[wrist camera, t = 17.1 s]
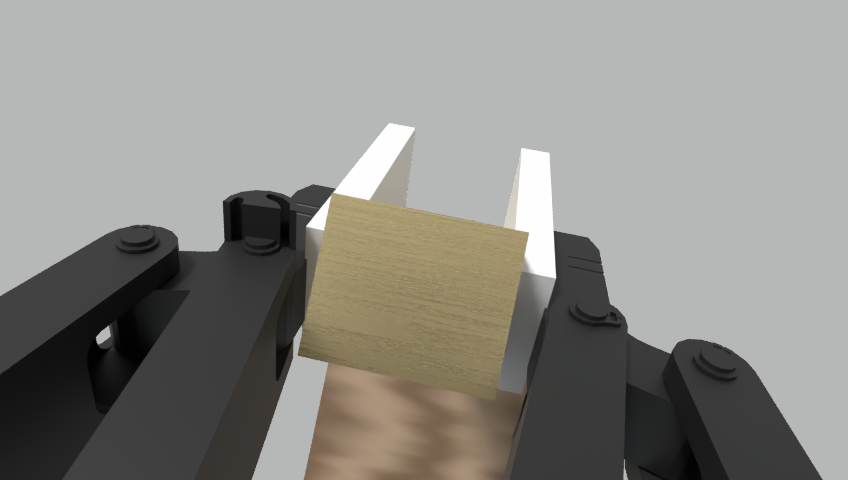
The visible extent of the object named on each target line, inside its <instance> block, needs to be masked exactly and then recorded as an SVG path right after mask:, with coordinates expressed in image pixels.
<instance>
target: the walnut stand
mask: <svg viewBox="0 0 848 480" xmlns="http://www.w3.org/2000/svg"><path fill="white" fill-rule="evenodd" d="M526 391H527V378H526V382H525V385H524V388H523V392H522V394H517V393H513V392H509V391H504V390H500V389H497V392H496V397H495V401H493V400H489V399H485V398H480V397H476V396H472V395H467V394H463V393H459V392H454V391H450V390H446V389H441V388H437V387H433V386H428V385H424V384H420V383H415V382H411V381H407V380H402V379H398V378H394V377H389V376H385V375H380V374H376V373H372V372H367V371H363V370H359V369H354V368H350V367H346V366H341V365H337V364H333V363H328V368H327V373H326V378H325V383H324V387H323V392H322V396H321V401H320V406H319V411H318V416H317V420H316V425H315V430H314V434H313V440H312V444H311V449H310V454H309V458H308V463H307V468H306V473H305V478H304V480H503V477H504V473H505V469H506V465H507V461H508V458H509V454H510V450H511V446H512V442H513V439H512V438H513V434H514V431H515V428H516V424H517V421H518V418H519V414H520V411H521V408H522V404H523V401H524V398H525V394H526Z"/></svg>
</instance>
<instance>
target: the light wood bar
mask: <svg viewBox="0 0 848 480" xmlns="http://www.w3.org/2000/svg"><path fill="white" fill-rule="evenodd" d="M528 237H529V232H524V231H519V230H515V229H510V228H505V227H500V226H495V225H490V224H484V223H479V222H475V221H470V220H465V219H460V218H455V217H450V216H445V215H440V214H435V213H430V212H425V211H420V210H415V209H411V208H406V207H401V206H396V205H391V204H386V203H381V202H376V201H371V200H366V199H361V198H356V197H351V196H346V195H342V194H337V193H332V194H331V199H330V204H329V209H328V213H327V218H326V223H325V228H324V232H323V237H322V242H321V247H320V251H319V256H318V261H317V266H316V270H315V275H314V280H313V285H312V289H311V294H310V299H309V303H308V308H307V313H306V318H305V322H304V327H303V332H302V337H301V342H300V347H299V351H298V356H302V357H307V358H311V359H315V360H320V361H324V362H328V363H333V364H337V365H341V366H346V367H350V368H354V369H359V370H363V371H367V372H372V373H376V374H380V375H385V376H389V377H394V378H398V379H402V380H407V381H411V382H415V383H420V384H424V385H428V386H433V387H437V388H441V389H446V390H450V391H454V392H459V393H463V394H467V395H472V396H476V397H480V398H485V399H489V400H493V401H495V397H496V392H497V387H498V382H499V378H500V373H501V368H502V363H503V358H504V353H505V348H506V344H507V339H508V334H509V329H510V324H511V319H512V314H513V309H514V305H515V300H516V295H517V290H518V285H519V280H520V275H521V271H522V266H523V261H524V256H525V251H526V246H527V241H528Z"/></svg>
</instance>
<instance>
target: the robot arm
mask: <svg viewBox="0 0 848 480" xmlns="http://www.w3.org/2000/svg"><path fill="white" fill-rule="evenodd" d="M414 136H415V128H412V127H407V126H402V125H396V124H391V123H389V124H388V125H387V127H386V128H385V129H384V130H383V132H382V133H381V134H380V135H379V137H378V138H377V139H376V140H375V141H374V143H373V144H372V145H371V147H370V148H369V149H368V150H367V151H366V153H365V154H364V155H363V156H362V158H361V159H360V160H359V161H358V163H357V164H356V165H355V167H354V168H353V169H352V170H351V171H350V172H349V174H348V175H347V176H346V178H345V179H344V180H343V181H342V182H341V184H340V185H339V186H338V187H337V189H334V188H329V187H324V186H319V185H311V186H309V187H306V188H304V189H301V190H299V191H297V192H296V193H295V194H294V195H293V196H292V197H291V198H290V197H288V196H286V195H284V194H281V193H276V192H272V191H259V190H254V191H246V192H240V193H237V194H234V195H231V196H229V197H228V198H227V199H225V200H224V201H223V215H224V238H225V241H224V243H223V244H222V246H221V247H220V249H219V250H218V251H212V252H196V251H179V247H178V238H177V236H175V234H174V233H173V232H172V231H169V230H167V229H165V228H162V227H156V226H151V225H142V226H140V225H134V226H130V227H126V228H122V229H117V230H115V231H113V232H110V233H108V234H106V235H104V236H102V237H101V238H99V239H97V240H96V241H94V242H92V243H91V244H89V245H87V246H85V247H84V248H82V249H80V250H78V251H77V252H75V253H73V254H72V255H70V256H68V257H67V258H65V259H63V260H61V261H60V262H58V263H56V264H54V265H53V266H51V267H50V268H48V269H46V270H44V271H42V272H41V273H39V274H37V275H36V276H34V277H32V278H31V279H29V280H27V281H25V282H24V283H22V284H20V285H19V286H17V287H15V288H13V289H12V290H10V291H8V292H7V293H5V294H3V295H2V296H0V480H252V477H253V474H254V471H255V468H256V465H257V462H258V459H259V456H260V453H261V450H262V447H263V444H264V441H265V439H266V436H267V432H268V430H269V427H270V424H271V421H272V418H273V415H274V412H275V409H276V406H277V403H278V400H279V397H280V394H281V391H282V389H283V385H284V383H285V380H286V377H287V374H288V371H289V368H290V365H291V362H292V359H293V338H294V337H295V335H296V333H297V332H298V330H299V328H300V327H301V325H302V332H303V327H304V322H305V318H306V313H307V308H308V303H309V299H310V294H311V289H312V285H313V280H314V275H315V270H316V266H317V261H318V256H319V251H320V247H321V242H322V237H323V232H324V228H325V223H326V218H327V213H328V209H329V204H330V199H331V194H332V193H337V194H342V195H346V196H351V197H356V198H361V199H366V200H371V201H376V202H381V203H386V204H391V205H396V206H401V207H405V204H406V197H407V189H408V182H409V174H410V167H411V159H412V151H413V144H414ZM550 177H551V176H550V158H549V153H545V152H540V151H534V150H529V149H524V148H522V149H521V154H520V158H519V162H518V167H517V172H516V175H515V180H514V184H513V189H512V193H511V197H510V201H509V206H508V210H507V215H506V219H505V223H504V227H505V228H510V229H515V230H519V231H524V232H529V237H528V241H527V246H526V251H525V256H524V261H523V266H522V271H521V275H520V280H519V285H518V290H517V295H516V300H515V305H514V309H513V314H512V319H511V324H510V329H509V334H508V339H507V344H506V348H505V353H504V358H503V363H502V368H501V373H500V378H499V382H498V387H497V389H500V390H504V391H509V392H513V393H517V394H522V392H523V388H524V385H525V382H526V378H527V391H526V394H525V398H524V401H523V404H522V408H521V411H520V414H519V418H518V421H517V424H516V428H515V431H514V434H513V438H512V439H513V442H512V446H511V450H510V454H509V458H508V461H507V465H506V469H505V473H504V477H503V480H623V471H624V470H623V469H624V459H625V469H626V473H627V477H628V480H822V478H821V477H820V475H819V473H818V472H817V470H816V468H815V467H814V465H813V464H812V462H811V460H810V459H809V457H808V456H807V454H806V452H805V451H804V449H803V448H802V446H801V444H800V443H799V441H798V440H797V438H796V436H795V435H794V433H793V432H792V430H791V428H790V427H789V425H788V424H787V422H786V420H785V419H784V417H783V415H782V414H781V412H780V411H779V409H778V407H777V406H776V404H775V403H774V401H773V399H772V398H771V396H770V395H769V393H768V391H767V390H766V388H765V386H764V385H763V383H762V382H761V380H760V379H759V377H758V376H757V374H756V372H755V371H754V370H753V369H752V367H750V365H749V364H748V363H747V362H746V361H745V360H744V359H742V358H741V357H739V356H738V355H737V354H735V353H734V352H733V351H731V350H730V349H728V348H726V347H723V346H721V345H719V344H716V343H711V342H708V341H704V340H695V339H687V340H684V341H681V342H678V343H677V344H676V346H675V347H674V349H673V351H672V353H671V354H669V353H667V352H664V351H662V350H660V349H657V348H655V347H652V346H650V345H648V344H646V343H644V342H642V341H639V340H637V339H636V338H634V337H633V336H631V335H630V334H628V333H627V330H628V329H627V328H628V326H627V323H626V319H625V317H624V316H623V315H622V314H621V312H620V311H619V310H618V309H617V308H615V307H614V306H612V305H610V303H609V298H608V292H607V288H606V283H605V278H604V275H603V273H604V272H603V268H602V265H601V263H602V262H601V257H600V252H599V250H598V248H597V247H596V246H595V245H594V244H593V243H592V242H591V241H590V239H589V238H587V237H582V236H577V235H572V234H567V233H561V232H557V231H553V213H552V196H551V178H550ZM107 326H109V328H110V334H111V337H109V338H108V339H107V340H106V341H104V342H103V343H101V344H99V345H98V344H97V341H96V336H97V335H98V334H99V333H100V332H101V331H102V330H103V329H105V328H106V327H107Z"/></svg>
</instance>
